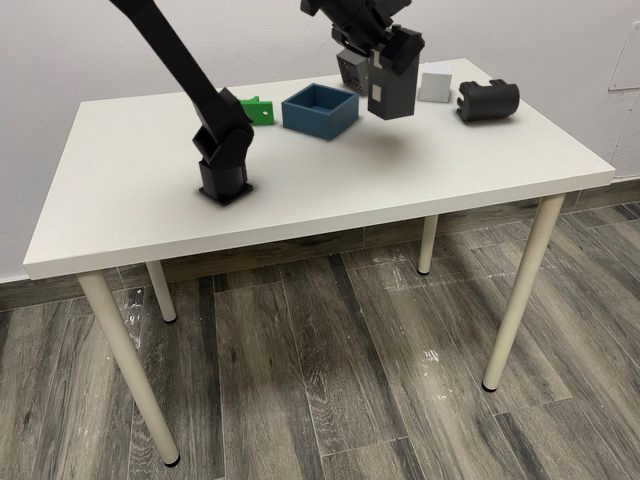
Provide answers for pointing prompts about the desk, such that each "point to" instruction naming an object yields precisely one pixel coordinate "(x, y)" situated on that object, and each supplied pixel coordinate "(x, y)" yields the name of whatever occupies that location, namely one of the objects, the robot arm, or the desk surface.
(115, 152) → the desk surface
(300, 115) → the compartment
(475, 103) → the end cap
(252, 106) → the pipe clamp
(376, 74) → the tower
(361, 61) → the electrical switch
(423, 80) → the white cube
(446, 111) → the desk surface
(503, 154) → the desk surface
